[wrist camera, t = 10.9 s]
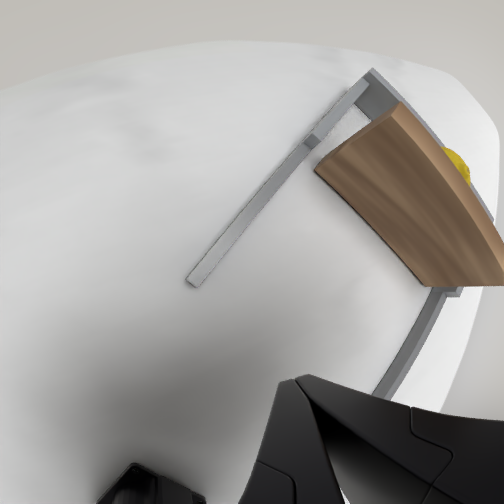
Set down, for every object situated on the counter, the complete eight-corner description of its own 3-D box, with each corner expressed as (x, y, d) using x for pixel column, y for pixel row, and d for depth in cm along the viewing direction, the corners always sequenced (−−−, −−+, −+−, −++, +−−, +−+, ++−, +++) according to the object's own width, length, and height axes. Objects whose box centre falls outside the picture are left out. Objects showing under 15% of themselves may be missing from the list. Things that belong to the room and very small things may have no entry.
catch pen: (366, 413, 22) (396, 429, 18) (185, 279, 19) (189, 279, 15) (464, 224, 27) (493, 219, 23) (348, 90, 24) (372, 67, 20)
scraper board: (425, 286, 24) (510, 285, 15) (314, 169, 22) (391, 115, 13) (432, 272, 24) (515, 266, 16) (324, 155, 22) (400, 100, 14)
